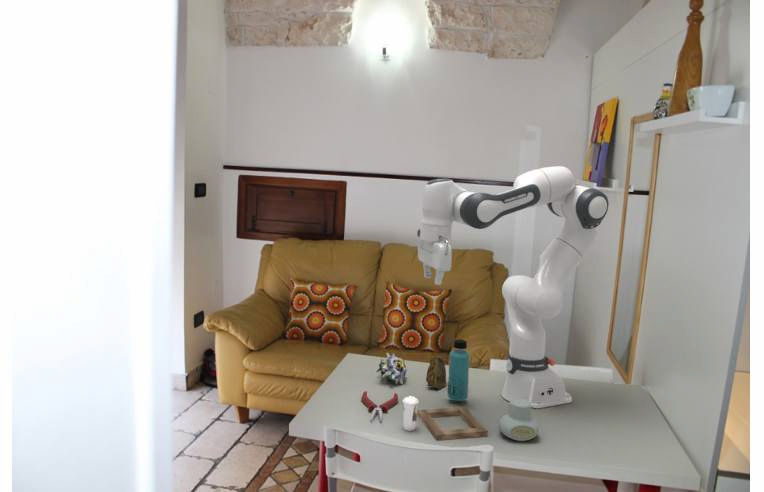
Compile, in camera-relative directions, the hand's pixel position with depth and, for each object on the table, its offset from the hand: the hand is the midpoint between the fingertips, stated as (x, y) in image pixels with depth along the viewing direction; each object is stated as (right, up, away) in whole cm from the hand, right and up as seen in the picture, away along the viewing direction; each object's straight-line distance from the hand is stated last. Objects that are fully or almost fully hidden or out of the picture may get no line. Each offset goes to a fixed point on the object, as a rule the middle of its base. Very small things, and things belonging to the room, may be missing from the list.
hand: (432, 281), depth 181 cm
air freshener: (+23, -43, -9) cm, 50 cm away
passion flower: (-12, -36, +30) cm, 48 cm away
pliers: (-17, -40, +6) cm, 44 cm away
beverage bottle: (+9, -39, +13) cm, 42 cm away
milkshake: (-8, -41, -7) cm, 43 cm away
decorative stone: (+3, -37, +26) cm, 46 cm away
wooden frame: (+5, -41, -4) cm, 42 cm away
